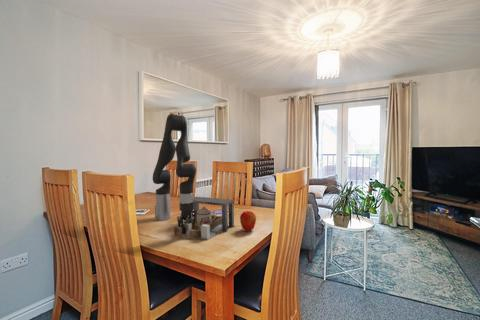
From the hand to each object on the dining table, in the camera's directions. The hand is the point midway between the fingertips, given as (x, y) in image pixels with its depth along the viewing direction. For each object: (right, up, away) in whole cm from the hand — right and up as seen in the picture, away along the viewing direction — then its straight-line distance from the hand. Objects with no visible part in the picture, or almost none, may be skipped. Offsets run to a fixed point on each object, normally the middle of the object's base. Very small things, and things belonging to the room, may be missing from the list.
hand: (187, 232), depth 126 cm
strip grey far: (+16, -2, +11) cm, 19 cm away
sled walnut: (+5, -2, +12) cm, 14 cm away
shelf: (+10, -2, +17) cm, 20 cm away
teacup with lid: (+8, -2, +18) cm, 20 cm away
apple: (+33, -2, +9) cm, 34 cm away
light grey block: (+11, -2, 0) cm, 11 cm away
